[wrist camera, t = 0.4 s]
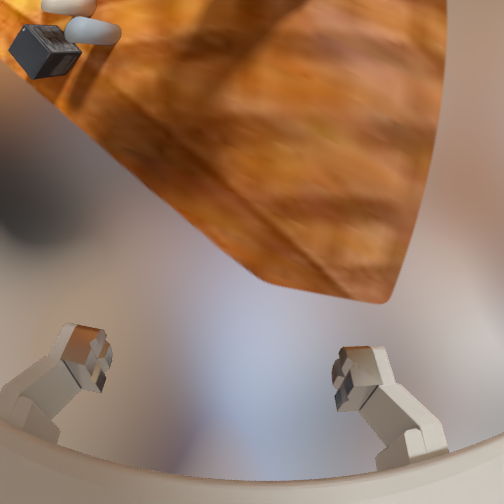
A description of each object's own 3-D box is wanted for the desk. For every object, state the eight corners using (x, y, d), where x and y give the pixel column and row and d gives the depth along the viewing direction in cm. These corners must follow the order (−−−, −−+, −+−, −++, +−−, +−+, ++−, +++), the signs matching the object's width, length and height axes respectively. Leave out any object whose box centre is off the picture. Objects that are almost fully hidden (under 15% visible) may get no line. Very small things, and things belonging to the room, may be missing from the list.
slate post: (101, 26, 39) (65, 19, 29) (122, 22, 39) (88, 13, 29) (99, 47, 42) (63, 45, 31) (120, 44, 42) (86, 39, 31)
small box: (39, 49, 40) (5, 51, 31) (57, 24, 38) (24, 21, 29) (63, 77, 44) (30, 81, 35) (83, 52, 42) (51, 51, 33)
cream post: (79, 1, 36) (42, -8, 25) (98, -4, 36) (63, -16, 25) (76, 20, 38) (39, 14, 28) (95, 15, 38) (59, 7, 28)
